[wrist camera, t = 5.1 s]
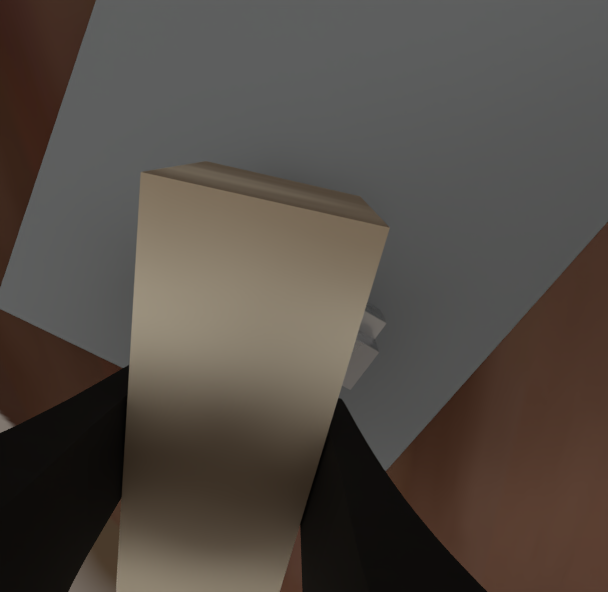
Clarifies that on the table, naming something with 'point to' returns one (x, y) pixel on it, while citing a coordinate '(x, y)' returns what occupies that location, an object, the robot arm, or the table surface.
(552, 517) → the table surface
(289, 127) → the mat
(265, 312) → the beam
